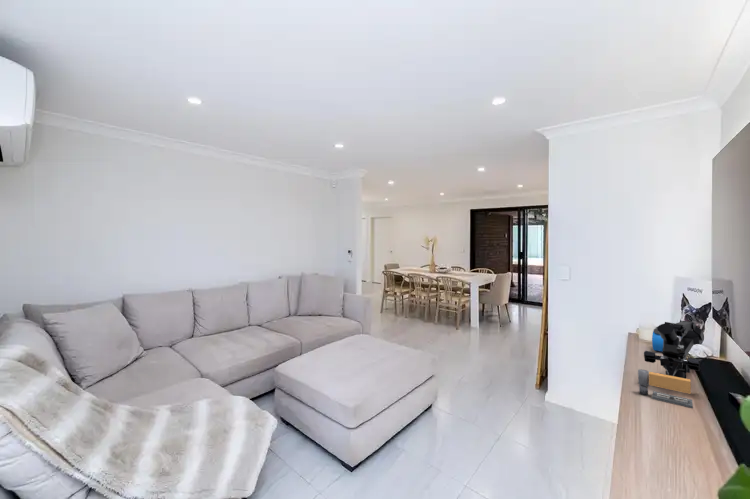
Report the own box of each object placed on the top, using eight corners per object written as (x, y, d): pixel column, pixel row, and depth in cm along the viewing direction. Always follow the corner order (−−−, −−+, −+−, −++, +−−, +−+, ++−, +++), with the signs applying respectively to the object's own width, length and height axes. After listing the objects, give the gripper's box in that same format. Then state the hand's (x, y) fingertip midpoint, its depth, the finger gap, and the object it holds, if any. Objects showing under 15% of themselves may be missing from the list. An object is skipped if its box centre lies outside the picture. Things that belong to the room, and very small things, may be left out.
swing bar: (637, 384, 143) (637, 371, 143) (638, 381, 146) (638, 368, 146) (690, 395, 132) (690, 381, 132) (690, 392, 135) (690, 378, 134)
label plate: (651, 398, 139) (651, 395, 139) (653, 393, 144) (652, 390, 144) (692, 408, 130) (692, 404, 130) (692, 402, 135) (692, 398, 135)
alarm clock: (665, 355, 192) (664, 329, 192) (651, 352, 197) (651, 328, 197) (668, 350, 201) (668, 326, 201) (655, 347, 205) (655, 324, 205)
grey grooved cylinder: (645, 392, 145) (645, 383, 145) (649, 395, 142) (649, 386, 142) (637, 392, 145) (637, 383, 145) (641, 395, 142) (641, 386, 142)
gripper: (644, 333, 152) (642, 363, 144) (700, 340, 139) (701, 373, 132) (645, 346, 158) (644, 375, 150) (699, 354, 145) (700, 386, 137)
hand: (671, 377), depth 142 cm, fingers closed
